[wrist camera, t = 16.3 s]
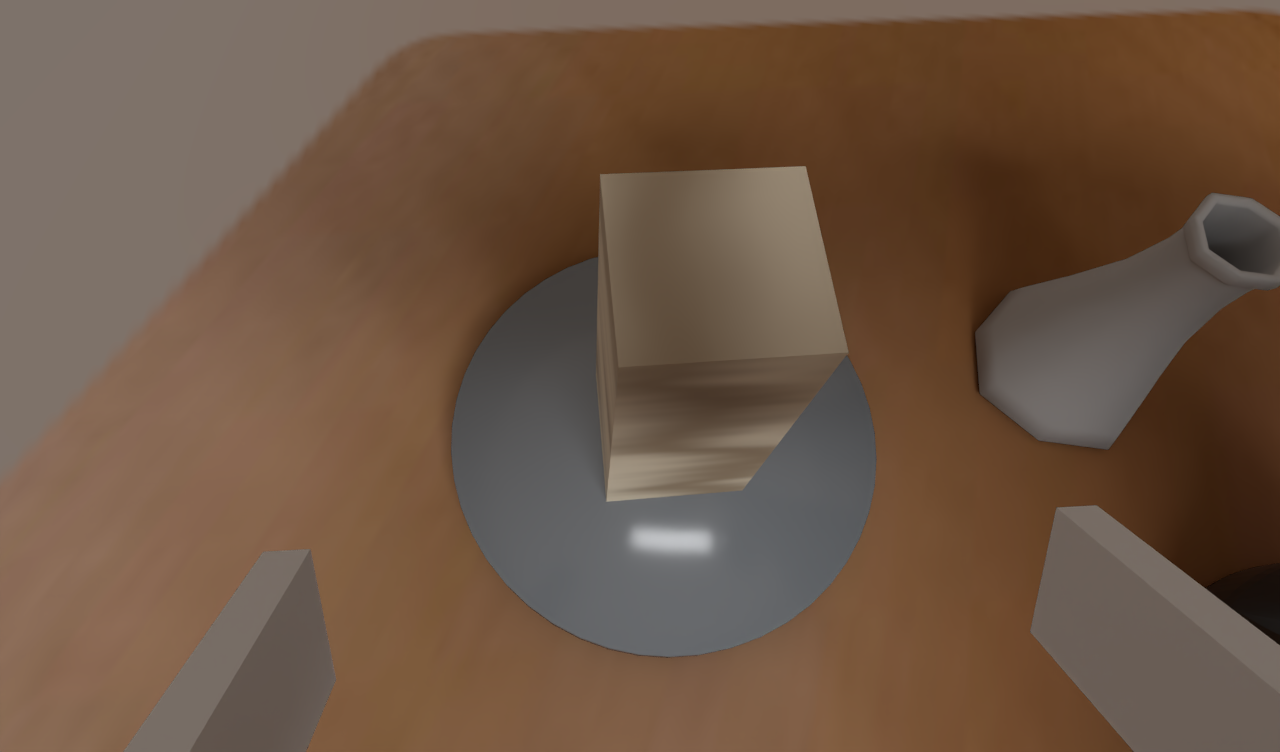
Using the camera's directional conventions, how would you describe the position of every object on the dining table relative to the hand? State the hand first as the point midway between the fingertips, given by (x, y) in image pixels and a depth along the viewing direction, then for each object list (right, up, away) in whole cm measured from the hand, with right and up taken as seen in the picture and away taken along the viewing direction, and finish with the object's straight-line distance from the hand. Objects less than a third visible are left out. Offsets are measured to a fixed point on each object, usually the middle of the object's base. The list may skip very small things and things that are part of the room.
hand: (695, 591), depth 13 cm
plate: (0, +1, +16) cm, 16 cm away
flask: (+17, +4, +18) cm, 25 cm away
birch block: (0, +2, +15) cm, 15 cm away
